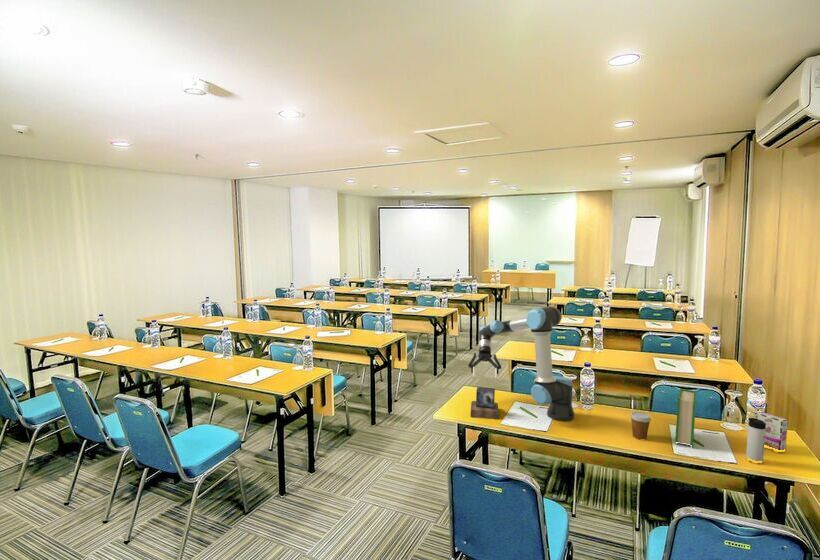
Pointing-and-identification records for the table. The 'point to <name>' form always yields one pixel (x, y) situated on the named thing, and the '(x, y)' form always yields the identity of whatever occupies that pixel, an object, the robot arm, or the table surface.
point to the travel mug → (756, 439)
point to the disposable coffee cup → (640, 424)
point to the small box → (485, 397)
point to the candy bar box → (774, 430)
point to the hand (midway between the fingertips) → (484, 378)
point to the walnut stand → (484, 411)
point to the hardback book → (685, 416)
